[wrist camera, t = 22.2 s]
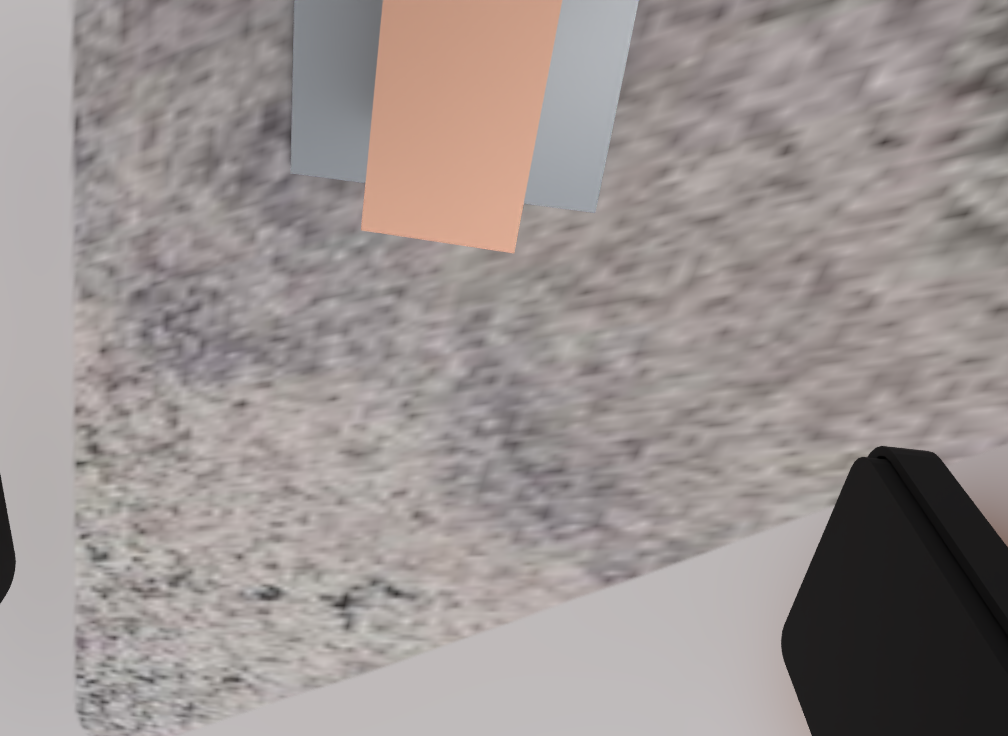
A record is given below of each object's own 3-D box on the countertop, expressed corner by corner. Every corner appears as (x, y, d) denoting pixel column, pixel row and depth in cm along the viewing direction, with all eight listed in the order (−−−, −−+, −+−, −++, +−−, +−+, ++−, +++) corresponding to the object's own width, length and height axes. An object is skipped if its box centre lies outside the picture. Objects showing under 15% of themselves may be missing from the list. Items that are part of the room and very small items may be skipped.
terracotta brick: (406, -91, 29) (390, -80, 24) (555, -63, 29) (570, -46, 24) (379, 172, 33) (361, 230, 28) (508, 193, 34) (514, 253, 29)
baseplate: (303, -191, 33) (298, -193, 32) (661, -131, 34) (665, -131, 34) (294, 166, 40) (290, 173, 39) (592, 205, 41) (595, 212, 40)
